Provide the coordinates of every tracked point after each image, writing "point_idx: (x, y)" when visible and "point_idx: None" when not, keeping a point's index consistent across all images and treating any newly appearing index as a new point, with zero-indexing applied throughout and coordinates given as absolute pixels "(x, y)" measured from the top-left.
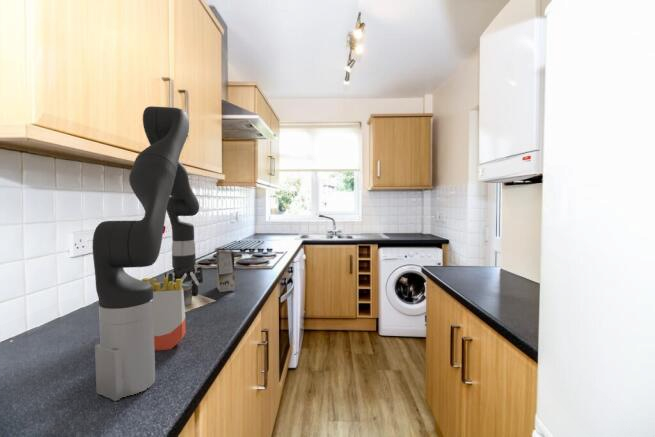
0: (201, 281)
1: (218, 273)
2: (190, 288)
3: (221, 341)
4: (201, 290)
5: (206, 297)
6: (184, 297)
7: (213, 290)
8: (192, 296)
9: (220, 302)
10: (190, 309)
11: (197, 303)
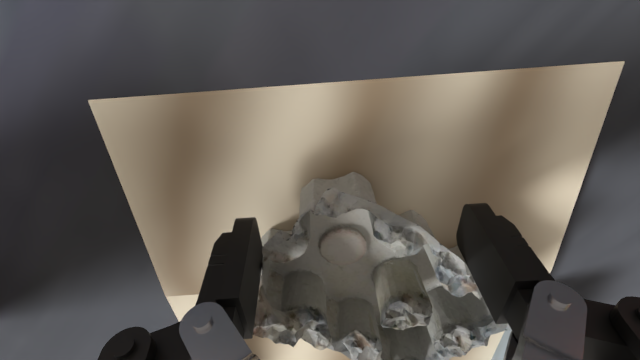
0: (134, 342)
1: None
2: None
3: None
4: (81, 338)
5: (133, 207)
6: (286, 281)
7: (6, 298)
8: None
9: (75, 8)
10: (395, 89)
11: (267, 154)
